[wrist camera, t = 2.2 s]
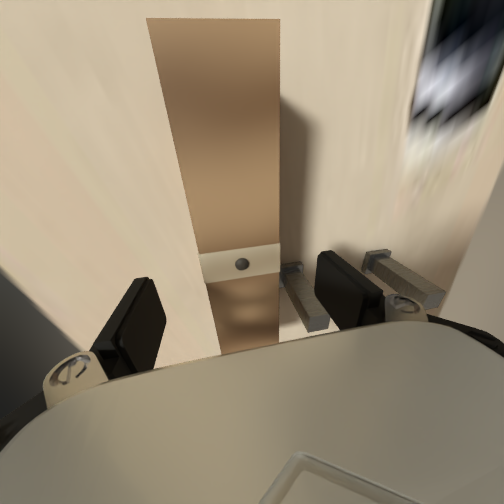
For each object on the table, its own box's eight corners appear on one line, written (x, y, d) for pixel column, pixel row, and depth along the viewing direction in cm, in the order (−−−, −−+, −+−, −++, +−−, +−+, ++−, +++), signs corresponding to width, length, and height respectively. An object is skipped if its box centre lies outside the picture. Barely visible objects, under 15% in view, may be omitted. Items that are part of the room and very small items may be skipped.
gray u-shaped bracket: (277, 265, 19) (304, 314, 13) (386, 248, 21) (452, 287, 15) (277, 284, 20) (302, 337, 15) (380, 267, 22) (439, 309, 16)
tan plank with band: (175, 76, 12) (142, 15, 6) (252, 74, 12) (282, 16, 7) (221, 315, 21) (224, 371, 16) (263, 307, 22) (279, 359, 16)
